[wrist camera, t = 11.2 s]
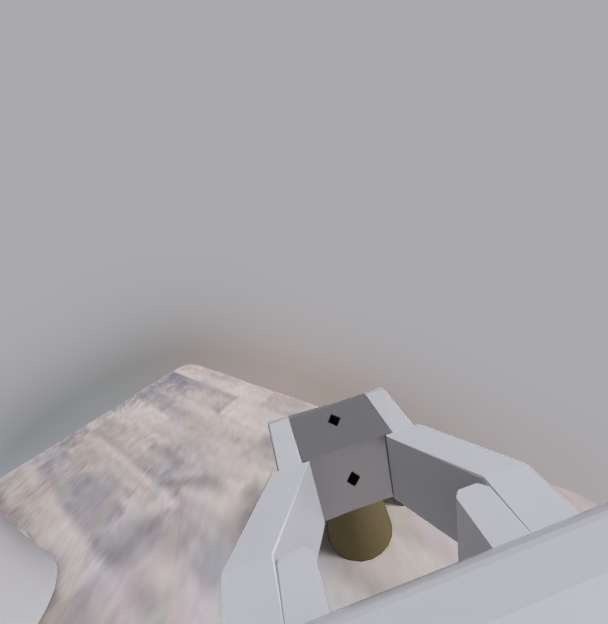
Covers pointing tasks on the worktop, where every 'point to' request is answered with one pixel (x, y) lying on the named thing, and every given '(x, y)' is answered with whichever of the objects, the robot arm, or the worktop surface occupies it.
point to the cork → (361, 532)
